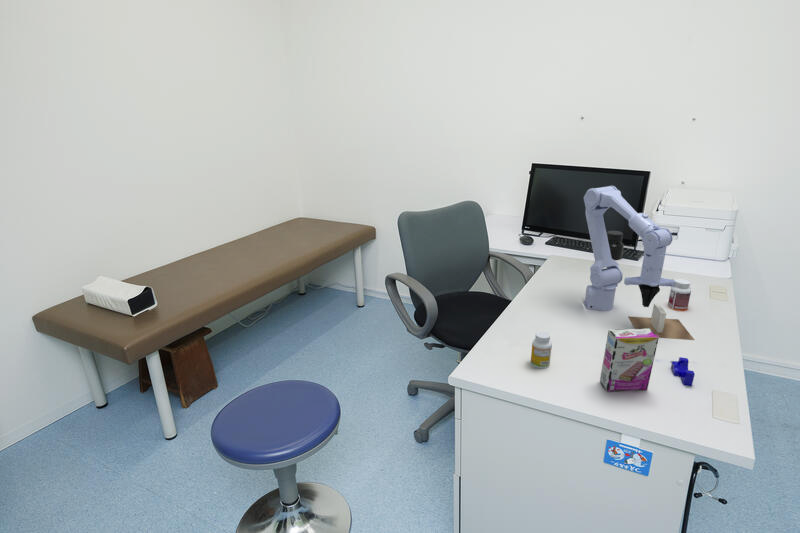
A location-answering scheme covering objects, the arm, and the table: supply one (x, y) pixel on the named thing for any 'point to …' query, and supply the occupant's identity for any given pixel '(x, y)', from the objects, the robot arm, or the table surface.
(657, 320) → the tile
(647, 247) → the robot arm
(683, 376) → the cable holder
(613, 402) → the table surface
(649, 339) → the candy bar box
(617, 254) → the ink bottle
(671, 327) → the board
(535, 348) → the supplement bottle
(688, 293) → the pill bottle
